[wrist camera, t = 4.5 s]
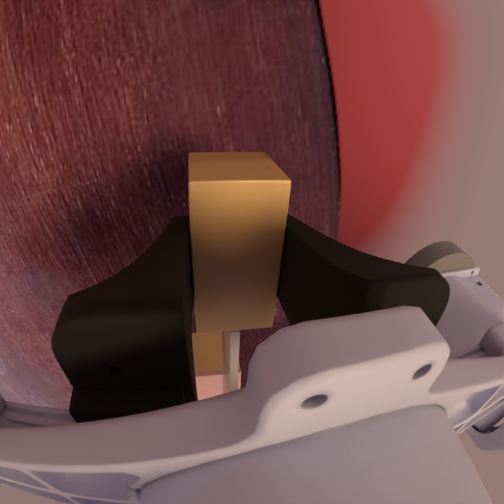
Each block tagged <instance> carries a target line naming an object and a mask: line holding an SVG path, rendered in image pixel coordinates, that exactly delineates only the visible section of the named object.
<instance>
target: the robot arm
mask: <svg viewBox="0 0 504 504" xmlns="http://www.w3.org/2000/svg"><path fill="white" fill-rule="evenodd" d="M479 270H480V268H479V267H477V266H476V267H470V268H464V269H458V270H451V271H445V272H438V271H437V270H436V269H434V268H428V267H421V266H414V265H408V264H403V263H399V262H394V261H390V260H386V259H383V258H379V257H376V256H373V255H370V254H367V253H364V252H361V251H358V250H356V249H353V248H351V247H349V246H346V245H344V244H342V243H340V242H337V241H335V240H333V239H332V238H330V237H328V236H326V235H324V234H322V233H320V232H318V231H316V230H315V229H313V228H311V227H309V226H308V225H306V224H304V223H303V222H301V221H299V220H297V219H296V218H294V217H292V216H290V215H288V214H287V222H286V230H285V238H284V246H283V254H282V262H281V269H280V277H279V284H278V291H277V296H278V299H279V301H280V303H281V306H282V308H283V310H284V312H285V315H286V317H287V319H288V322H289V325H290V326H288V327H285V328H281V329H279V330H278V331H277V332H275V333H274V334H272V335H271V336H270V337H268V338H267V339H266V340H264V341H263V342H261V343H260V344H259V345H258V346H257V347H256V349H255V351H254V353H253V355H252V357H251V359H250V361H249V364H248V375H247V382H246V385H245V387H244V388H241V389H238V390H235V391H231V392H228V393H224V394H221V395H217V396H213V397H210V398H206V399H202V400H198V396H197V387H196V377H195V367H194V356H193V344H192V309H193V279H192V263H191V244H190V220H189V216H175V217H174V218H173V219H172V220H171V221H170V223H169V224H168V226H167V227H166V228H165V230H164V231H163V232H162V234H161V235H160V236H159V237H158V239H157V240H156V241H155V242H154V243H153V244H152V245H151V247H150V248H149V249H148V250H147V251H146V252H145V253H144V254H143V255H141V256H140V257H139V258H138V259H137V260H135V261H134V262H133V263H131V264H130V265H128V266H127V267H126V268H124V269H123V270H121V271H120V272H118V273H117V274H115V275H113V276H111V277H110V278H108V279H106V280H104V281H102V282H100V283H98V284H96V285H94V286H92V287H89V288H87V289H84V290H82V291H79V292H76V293H74V294H71V295H68V297H67V300H66V302H65V304H64V306H63V308H62V310H61V313H60V315H59V318H58V321H57V324H56V327H55V330H54V332H53V335H52V350H53V353H54V355H55V358H56V360H57V361H58V363H59V365H60V367H61V368H62V370H63V372H64V373H65V375H66V377H67V378H68V380H69V382H70V383H71V385H72V386H73V391H72V396H71V402H70V408H69V410H66V409H56V408H48V407H40V406H33V405H26V404H20V403H14V402H8V401H5V400H4V398H3V397H2V395H1V394H0V484H2V485H5V486H8V487H11V488H14V489H17V490H20V491H23V492H26V493H29V494H33V495H36V496H39V497H43V498H46V499H50V500H53V501H57V502H61V503H65V504H492V502H491V500H490V497H489V495H488V493H487V491H486V489H485V487H484V485H483V483H482V481H481V479H480V477H479V475H478V473H477V471H476V469H475V467H474V465H473V463H472V461H471V459H470V457H469V456H468V454H467V452H466V450H465V448H464V446H463V445H462V443H461V441H460V439H459V437H458V434H460V433H461V432H463V431H464V432H466V433H467V434H468V435H469V436H470V437H471V439H472V440H473V441H474V443H475V445H476V446H477V447H478V448H480V450H483V451H494V450H504V423H503V424H502V425H500V426H497V427H493V426H494V425H495V424H496V423H498V422H499V421H500V420H501V419H502V418H503V417H504V302H503V301H502V300H501V299H500V298H499V297H498V296H497V295H496V294H495V293H494V292H493V291H492V290H491V289H490V288H489V287H488V286H487V285H486V284H485V283H484V282H483V281H482V280H481V279H480V278H479V277H478V276H477V275H478V273H479Z"/></svg>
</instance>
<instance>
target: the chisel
mask: <svg viewBox="0 0 504 504" xmlns="http://www.w3.org/2000/svg"><path fill="white" fill-rule="evenodd" d="M188 187H189V220H190V244H191V263H192V279H193V294H194V307H195V319H196V331H197V333H210V332H222V381H223V394H224V393H228V392H231V391H235V390H237V389H238V367H239V346H240V330H246V329H257V328H267V327H272V326H273V319H274V313H275V306H276V298H277V291H278V284H279V277H280V269H281V262H282V254H283V246H284V238H285V230H286V222H287V214H288V205H289V197H290V188H291V180H290V179H289V178H288V177H287V176H286V175H285V174H284V172H283V171H282V170H281V169H280V168H279V167H278V166H277V165H276V164H275V163H274V162H273V161H272V160H271V159H270V158H269V156H268V155H267V154H266V153H264V152H199V153H189V154H188Z"/></svg>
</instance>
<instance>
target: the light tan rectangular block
mask: <svg viewBox="0 0 504 504" xmlns="http://www.w3.org/2000/svg"><path fill="white" fill-rule="evenodd" d="M192 344H193V356H194V367H195V377H196V387H197V396H198V400H202V399H206V398H210V397H213V396H217V395H221V394H223V381H222V332H210V333H192ZM240 386H241V370H240V365H239V367H238V389H240ZM238 389H237V390H238Z"/></svg>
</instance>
